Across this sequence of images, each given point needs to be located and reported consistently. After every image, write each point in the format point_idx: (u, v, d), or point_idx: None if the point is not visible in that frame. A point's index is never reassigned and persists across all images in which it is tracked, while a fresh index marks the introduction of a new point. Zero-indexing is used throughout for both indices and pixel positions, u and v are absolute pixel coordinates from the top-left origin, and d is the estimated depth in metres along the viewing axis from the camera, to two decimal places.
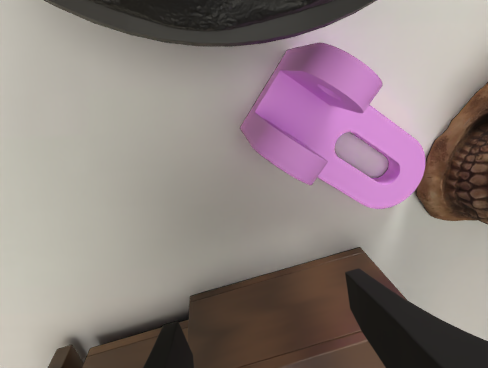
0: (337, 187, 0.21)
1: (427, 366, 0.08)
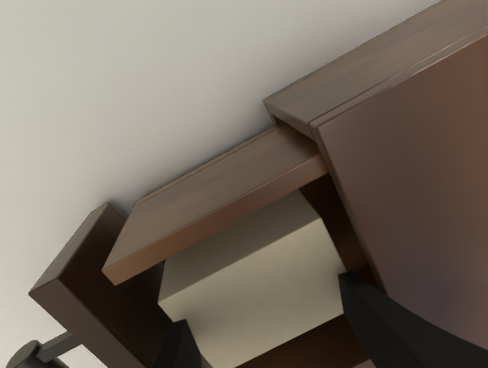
0: None
1: None
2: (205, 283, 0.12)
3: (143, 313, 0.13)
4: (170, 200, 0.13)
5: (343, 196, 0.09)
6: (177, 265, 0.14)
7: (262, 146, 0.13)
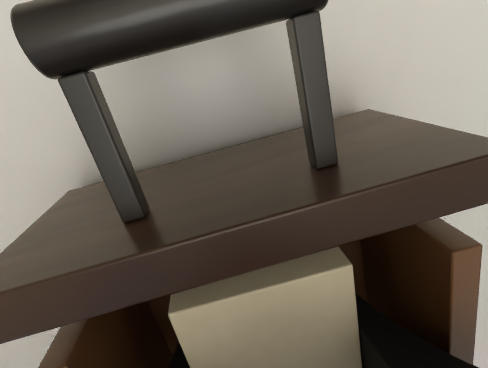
0: None
1: None
2: (350, 324, 0.09)
3: None
4: None
5: None
6: None
7: None
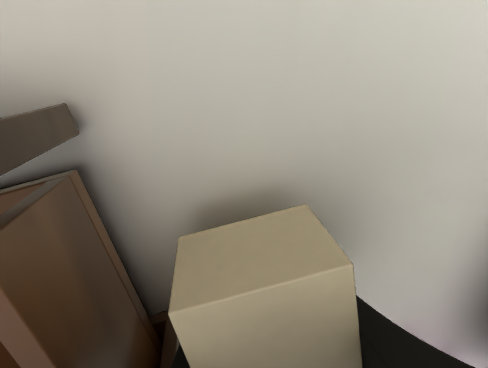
0: None
1: None
2: (351, 323, 0.09)
3: None
4: (78, 257, 0.10)
5: None
6: None
7: (132, 340, 0.12)
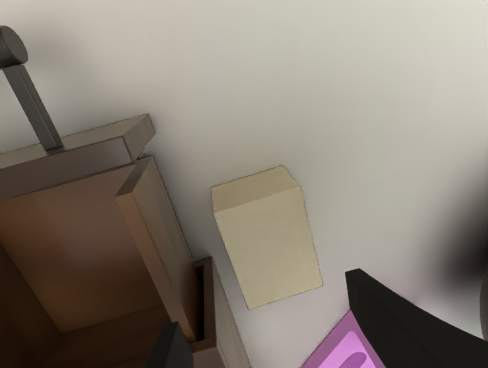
0: (325, 360, 0.26)
1: (427, 366, 0.08)
2: (303, 219, 0.18)
3: None
4: (160, 209, 0.17)
5: None
6: None
7: (187, 268, 0.19)
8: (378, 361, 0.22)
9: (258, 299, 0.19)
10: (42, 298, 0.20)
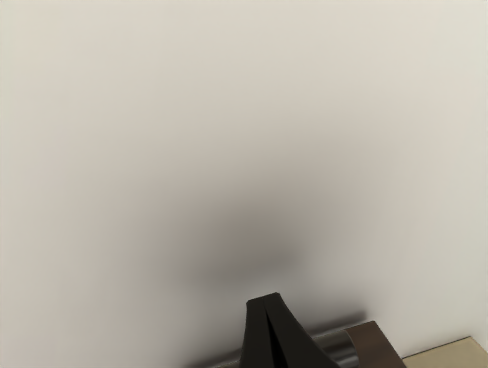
0: None
1: None
2: None
3: None
4: None
5: None
6: None
7: None
8: None
9: None
10: None
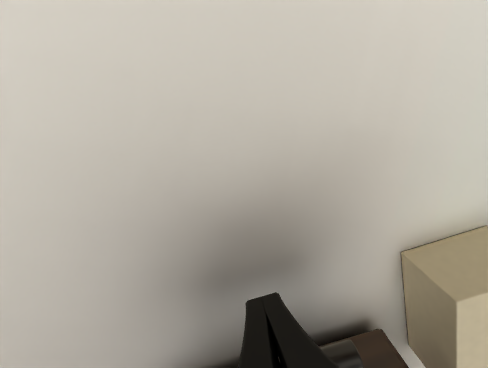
0: None
1: None
2: None
3: None
4: None
5: None
6: None
7: None
8: None
9: None
10: None
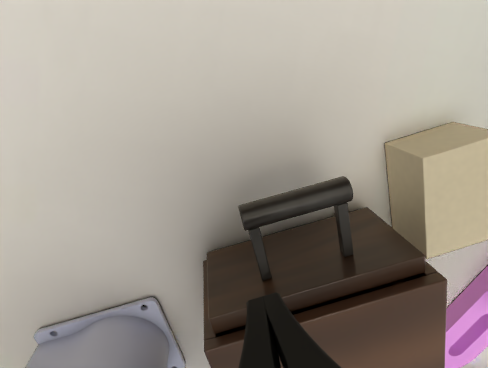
0: (458, 321, 0.27)
1: None
2: None
3: None
4: None
5: (401, 290, 0.16)
6: None
7: None
8: None
9: (438, 248, 0.20)
10: None
